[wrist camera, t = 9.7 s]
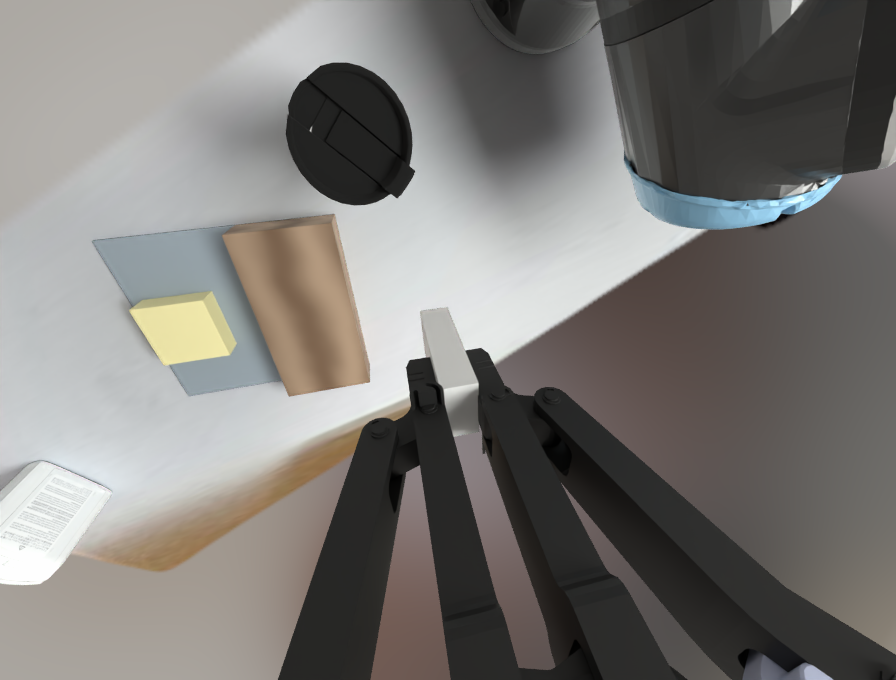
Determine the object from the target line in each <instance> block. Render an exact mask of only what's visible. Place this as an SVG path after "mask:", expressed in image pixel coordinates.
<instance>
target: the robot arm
mask: <svg viewBox="0 0 896 680" xmlns="http://www.w3.org/2000/svg"><path fill="white" fill-rule="evenodd" d="M471 3H472V5H473V7H474V9H475V11H476V13H477V14H478V16H479V18H480V19H481V21H482V22H483V24H484V25H485V26H486V28H487V29H488V30H489V31H490V32H491V34H492V35H493V36H495V37H496V38H497V39H498V40H499V41H500V42H502V43H503V44H505V45H506V46H508V47H510V48H512V49H514V50H516V51H519V52H522V53H527V54H544V53H549V52H553V51H556V50H558V49H561V48H563V47H565V46H568V45H570V44H572V43H574V42H576V41H577V40H579V39H581V38H582V37H583V36H585V35H586V34H587V33H589V32H590V31H591V30H592V29H593V28H594V27H595V26H596V25H597V24H599V22H600V24H601V29H602V34H603V39H604V46H605V51H606V56H607V61H608V66H609V71H610V76H611V81H612V86H613V91H614V96H615V102H616V107H617V112H618V118H619V123H620V128H621V134H622V139H623V144H624V162H625V166H626V168H627V170H628V172H629V173H630V174H631V177H632V181H633V185H634V189H635V192H636V196H637V199H638V201H639V202H640V204H641V206H642V207H643V208H644V209H645V210H647V211H648V212H651V214H652V215H653V216H655V217H656V218H657V219H659V220H661V221H664V222H667V223H669V224H673V225H677V226H681V227H687V228H696V229H730V228H741V227H747V226H753V225H759V224H763V223H767V222H771V221H774V220H776V219H777V218H778V216H779V215H780V213H784V214H795V213H797V212H799V211H801V210H804V209H806V208H808V207H810V206H811V205H813V204H814V203H816V202H818V201H819V200H821V199H822V198H823V197H824V196H825V195H826V194H827V193H828V192H829V191H830V190H831V189H832V187H833V186H834V185H835V184H836V183H837V182H838V181H839V180H840V178H841V176H842V174H848V173H854V172H860V171H868V170H874V169H881V168H886V167H888V166H890V165H891V164H893V163H894V162H895V161H896V0H471ZM420 315H421V323H422V332H423V340H424V348H425V354H426V358H421V359H415V360H410V361H409V363H408V365H407V367H406V370H407V377H408V384H409V391H410V401H411V408H410V410H409V412H408V413H407V414H406V415H405V416H403V417H402V418H400V419H398V420H396V421H392V420H391V419H389V418H377V419H374V420H372V421H370V422H369V423H368V424H366V425H365V426H364V428H363V430H362V432H361V435H360V438H359V441H358V444H357V447H356V450H355V453H354V456H353V459H352V462H351V465H350V468H349V470H348V473H347V476H346V479H345V482H344V485H343V488H342V491H341V494H340V497H339V500H338V503H337V506H336V509H335V512H334V515H333V518H332V521H331V524H330V527H329V530H328V533H327V536H326V539H325V542H324V544H323V548H322V550H321V553H320V557H319V559H318V562H317V565H316V568H315V571H314V575H313V577H312V580H311V583H310V586H309V589H308V592H307V595H306V598H305V601H304V604H303V607H302V610H301V613H300V616H299V619H298V621H297V624H296V628H295V631H294V633H293V636H292V639H291V642H290V645H289V648H288V651H287V654H286V657H285V660H284V663H283V666H282V669H281V672H280V675H279V678H278V680H370V678H371V673H372V667H373V661H374V655H375V650H376V643H377V638H378V632H379V626H380V621H381V615H382V609H383V603H384V598H385V592H386V586H387V581H388V575H389V569H390V562H391V557H392V551H393V546H394V540H395V534H396V529H397V523H398V517H399V511H400V505H401V499H402V494H403V488H404V483H405V477H406V472H407V471H409V470H411V469H413V468H415V467H417V466H419V465H420V468H421V475H422V482H423V488H424V495H425V501H426V509H427V516H428V523H429V529H430V536H431V544H432V550H433V557H434V564H435V570H436V577H437V584H438V590H439V591H438V592H439V598H440V605H441V612H442V620H443V627H444V635H445V642H446V649H447V656H448V663H449V670H450V677H451V680H687V679H686V678H685V677H684V676H682V675H681V674H680V673H679V672H677V671H676V670H675V669H674V668H672V667H671V666H669V665H668V663H667V661H666V659H665V657H664V656H663V654H662V652H661V650H660V648H659V646H658V645H657V643H656V641H655V639H654V637H653V635H652V634H651V632H650V630H649V628H648V626H647V625H646V623H645V621H644V619H643V617H642V615H641V613H640V612H639V610H638V608H637V606H636V604H635V603H634V601H633V599H632V597H631V595H630V593H629V592H628V590H627V589H626V587H625V586H624V584H623V583H622V582H621V580H620V579H619V578H618V577H616V576H614V575H612V574H610V573H609V572H608V571H607V569H606V568H605V566H604V565H603V562H602V561H601V559H600V557H599V555H598V553H597V551H596V549H595V548H594V545H593V543H592V541H591V540H590V538H589V536H588V534H587V532H586V530H585V528H584V526H583V524H582V522H581V520H580V519H579V517H578V515H577V513H576V511H575V509H574V507H573V505H572V503H571V501H570V499H569V498H568V496H567V494H566V492H565V490H564V488H563V486H562V484H563V485H564V487H565V488H566V489H567V490H568V491H569V493H570V494H571V495H572V496H573V497H574V499H575V500H576V501H577V502H578V503H579V505H580V506H581V507H582V508H583V509H584V511H585V512H586V513H587V514H588V515H589V517H590V518H591V519H592V520H593V521H594V523H595V524H596V525H597V526H598V527H599V528H600V530H601V531H602V532H603V533H604V534H605V536H606V537H607V538H608V539H609V540H610V542H611V543H612V544H613V545H614V546H615V548H616V549H617V550H618V551H619V552H620V554H621V555H622V556H623V557H624V558H625V560H626V561H627V562H628V563H629V564H630V566H631V567H632V568H633V569H634V570H635V571H636V573H637V574H638V575H639V576H640V577H641V579H642V580H643V581H644V582H645V584H646V585H647V586H648V587H649V588H650V590H652V592H653V593H654V594H655V596H656V597H657V598H658V599H659V600H660V602H661V603H662V604H663V605H664V606H665V607H666V609H667V610H668V611H669V612H670V613H671V615H672V616H673V617H674V618H675V619H676V621H677V622H678V623H679V624H680V625H681V627H682V628H683V629H684V630H685V631H686V633H687V634H688V635H689V636H690V637H691V638H692V639H693V641H695V643H696V644H697V645H698V646H699V647H700V648H701V649H702V650H703V652H704V653H705V654H706V655H707V656H708V657H709V658H710V659H711V660H712V661H713V662H714V663H715V664H716V665H717V666H718V667H719V668H720V669H721V670H722V671H723V672H725V674H726V675H727V676H728V677H729V678H731V679H732V680H896V655H895V654H893V653H892V652H890V651H888V650H887V649H885V648H884V647H882V646H880V645H879V644H877V643H876V642H874V641H872V640H870V639H869V638H867V637H866V636H864V635H862V634H861V633H859V632H858V631H856V630H854V629H853V628H851V627H849V626H848V625H846V624H845V623H843V622H841V621H839V620H838V619H836V618H835V617H833V616H831V615H830V614H828V613H827V612H825V611H823V610H822V609H820V608H818V607H817V606H815V605H814V604H812V603H810V602H809V601H807V600H805V599H804V598H802V597H801V596H799V595H797V594H796V593H794V592H792V591H791V590H789V589H787V588H786V587H785V586H784V585H782V584H781V583H780V582H779V581H778V580H777V579H776V578H774V577H773V576H772V575H771V574H769V572H768V571H767V570H765V569H764V568H763V567H762V566H761V565H759V563H757V562H756V561H755V560H754V559H753V558H752V557H751V556H749V555H748V554H747V553H746V552H745V551H744V550H743V549H742V548H740V547H739V546H738V545H737V544H736V543H735V542H734V541H732V540H731V539H730V538H729V537H728V536H727V535H726V534H724V533H723V532H722V531H721V530H720V529H719V528H717V527H716V526H715V525H714V524H713V523H712V522H711V521H710V520H709V519H707V518H706V517H705V516H704V515H703V514H702V513H701V512H700V511H698V510H697V509H696V508H695V507H694V506H693V505H692V504H690V503H689V502H688V501H687V500H686V499H685V498H684V497H682V496H681V495H680V494H679V493H678V492H677V491H676V490H675V489H673V488H672V487H671V486H670V485H669V484H668V483H667V482H665V481H664V480H663V479H662V478H661V477H660V476H659V475H657V474H656V473H655V472H654V471H653V470H652V469H651V468H649V467H648V466H647V465H646V464H645V463H644V462H643V461H642V460H640V459H639V458H638V457H637V456H636V455H635V454H634V453H633V452H631V451H630V450H629V449H628V448H627V447H625V445H623V444H622V443H621V442H620V441H619V440H618V439H617V438H615V437H614V436H613V435H612V434H611V433H610V432H609V431H608V430H606V429H605V428H604V427H603V426H602V425H600V423H598V422H597V421H596V420H595V419H594V418H593V417H592V416H590V415H589V414H588V413H587V412H586V411H585V410H584V409H582V408H581V407H580V406H579V405H578V404H577V403H576V402H575V401H573V400H572V399H571V398H570V397H569V396H568V395H567V394H566V393H564V392H563V391H561V390H560V389H556V388H553V387H545V388H541V389H539V390H537V391H536V393H535V395H534V396H523V395H518V394H515V393H513V391H512V390H511V389H510V388H508V387H507V386H504V383H503V381H502V379H501V377H500V376H499V374H498V372H497V370H496V368H495V366H494V364H493V362H492V360H491V358H490V356H489V354H488V353H487V352H486V351H484V350H483V349H482V348H478V349H472V350H466V351H465V349H464V347H463V344H462V342H461V339H460V337H459V334H458V332H457V330H456V327H455V325H454V322H453V320H452V318H451V315H450V313H449V310H448V308H447V307H444V308H437V309H430V310H423V311H420ZM479 424H480V427H481V430H482V450H483V454H484V453H485V450H486V453H487V456H488V458H489V461H490V464H491V467H492V470H493V473H494V476H495V479H496V482H497V485H498V488H499V490H500V493H501V496H502V499H503V502H504V505H505V508H506V511H507V514H508V516H509V519H510V522H511V525H512V528H513V531H514V534H515V536H516V540H517V542H518V545H519V548H520V551H521V554H522V557H523V560H524V563H525V566H526V568H527V572H528V574H529V577H530V580H531V583H532V586H533V589H534V592H535V595H536V598H537V600H538V603H539V606H540V609H541V612H542V615H543V618H544V621H545V624H546V627H547V632H548V639H549V644H550V648H551V653H552V656H553V659H554V663H555V666H556V667H555V668H553V669H551V670H537V669H525V668H518V664H517V661H516V657H515V653H514V650H513V646H512V642H511V639H510V635H509V631H508V628H507V624H506V621H505V617H504V615H503V612H502V609H501V607H500V605H499V603H498V601H497V598H496V595H495V591H494V588H493V584H492V581H491V577H490V572H489V569H488V565H487V562H486V557H485V554H484V550H483V546H482V543H481V539H480V535H479V531H478V527H477V524H476V520H475V516H474V512H473V508H472V505H471V501H470V498H469V493H468V490H467V486H466V483H465V478H464V475H463V471H462V467H461V463H460V460H459V456H458V452H457V448H456V445H455V441H454V437H455V436H460V435H465V434H471V433H476V432H479ZM561 483H562V484H561Z"/></svg>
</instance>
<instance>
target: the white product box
mask: <svg viewBox="0 0 896 680" xmlns="http://www.w3.org/2000/svg"><path fill="white" fill-rule="evenodd" d="M111 494H112V492H111V491H110V490H109V489H107V488H105V487H103V486H101V485H99V484H97V483H94V482H92V481H90V480H88V479H85V478H83V477H81V476H79V475H76V474H74V473H72V472H70V471H67V470H65V469H63V468H61V467H58V466H56V465H54V464H51V463H48V462H45V461H36V462H33V463H30V464H28V465H27V466H26V467H25V468H24V469H23V470H22V471H21V472H20V473H19V474H18V475H17V476H16V477H15V478H13V479H12V480H11V481H10V482H9V483H8V484H7V485H6V486H5V487H4V488H3V489H2V490H1V491H0V583H1V584H11V585H31V584H32V585H33V584H41V583H42V582H43V581H45V580H47V579H48V578H50V576H51V575H52V574H53V573H54V572H55V571H56V570H58V568H60V566H61V565H62V564H63V563H64V562H65V560H66V559H67V558H68V556H69V555H70V553H71V552H72V550H73V549H74V548H75V546H76V545H77V543H78V542H79V541H80V539H81V538H82V536H83V535H84V534H85V532H86V531H87V529H88V528H89V527H90V525H91V524H92V522H93V521H94V520H95V518H96V517H97V515H98V514H99V512H100V511H101V510H102V508H103V507H104V505H105V504H106V503H107V501H108V500H109V498H110V497H111Z"/></svg>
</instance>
